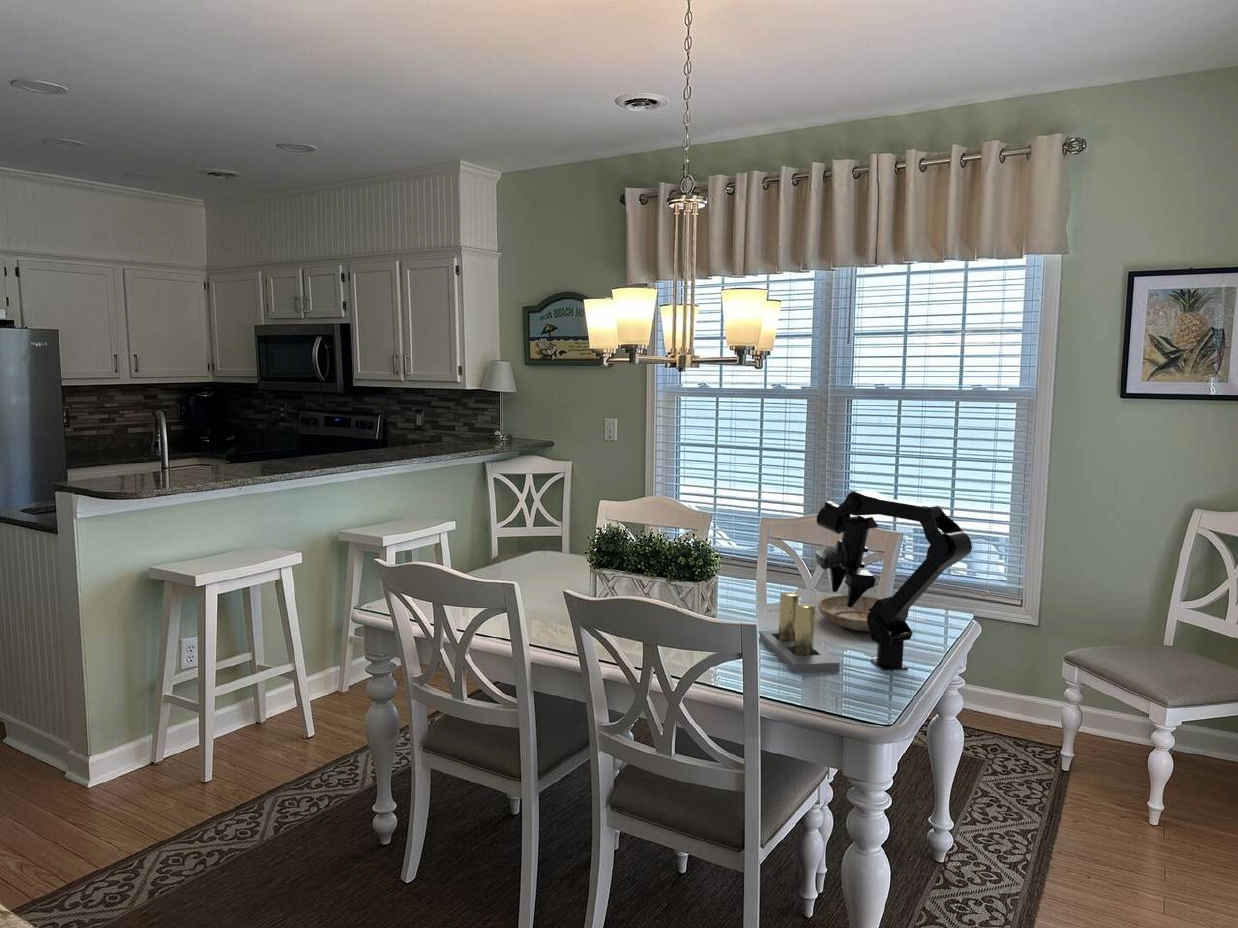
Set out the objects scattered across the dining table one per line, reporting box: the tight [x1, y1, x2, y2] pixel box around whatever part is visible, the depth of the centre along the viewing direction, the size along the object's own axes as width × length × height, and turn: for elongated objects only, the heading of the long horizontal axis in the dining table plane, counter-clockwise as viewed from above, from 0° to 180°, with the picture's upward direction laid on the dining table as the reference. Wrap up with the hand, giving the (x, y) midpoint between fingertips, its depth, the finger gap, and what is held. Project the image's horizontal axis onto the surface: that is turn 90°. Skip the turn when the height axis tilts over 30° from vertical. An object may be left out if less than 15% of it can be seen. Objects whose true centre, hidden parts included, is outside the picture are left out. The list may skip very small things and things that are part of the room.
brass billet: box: [794, 603, 816, 656], centre depth 204 cm, size 4×4×13 cm
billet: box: [778, 591, 800, 642], centre depth 214 cm, size 4×4×13 cm
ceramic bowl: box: [817, 594, 881, 632], centre depth 233 cm, size 23×24×5 cm
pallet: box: [758, 629, 841, 674], centre depth 208 cm, size 24×11×2 cm, turn 10°
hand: (841, 599), depth 212 cm, fingers open, 9 cm apart
